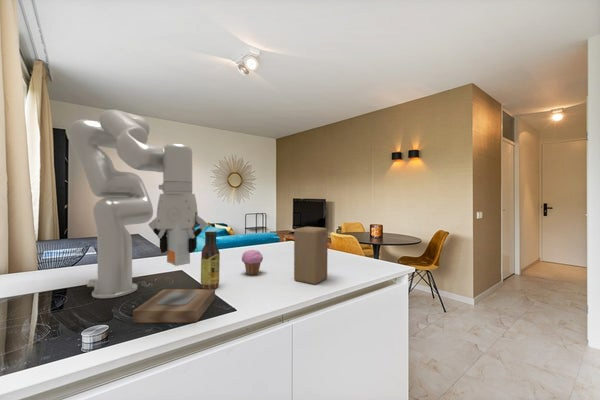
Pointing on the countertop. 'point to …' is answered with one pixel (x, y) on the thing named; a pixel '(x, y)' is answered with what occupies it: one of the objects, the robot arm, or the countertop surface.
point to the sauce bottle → (210, 262)
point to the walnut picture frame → (175, 306)
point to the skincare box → (178, 246)
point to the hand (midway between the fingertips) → (178, 251)
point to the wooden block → (310, 254)
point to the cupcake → (252, 261)
